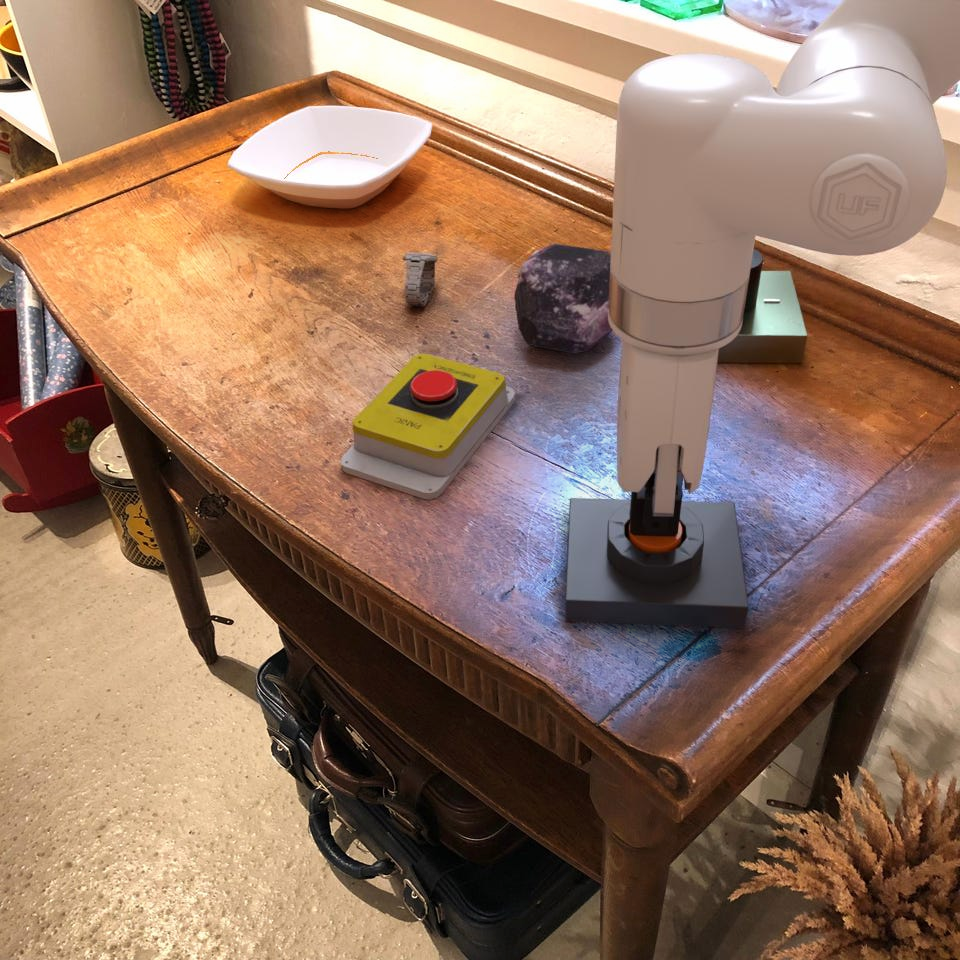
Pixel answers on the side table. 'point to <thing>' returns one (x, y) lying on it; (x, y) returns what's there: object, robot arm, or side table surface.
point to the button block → (655, 568)
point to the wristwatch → (419, 278)
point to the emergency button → (426, 425)
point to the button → (656, 542)
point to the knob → (754, 280)
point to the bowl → (331, 174)
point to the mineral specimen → (564, 298)
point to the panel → (770, 325)
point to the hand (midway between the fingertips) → (653, 527)
